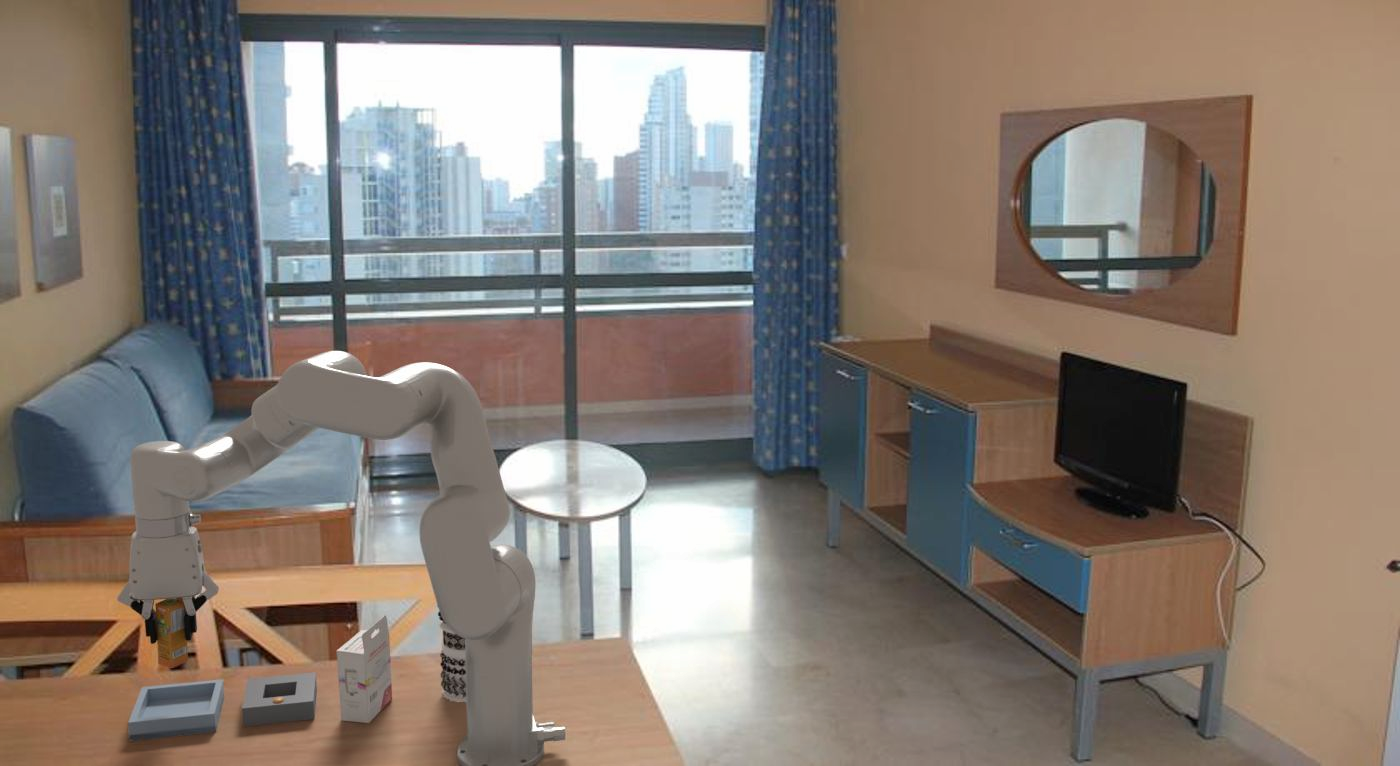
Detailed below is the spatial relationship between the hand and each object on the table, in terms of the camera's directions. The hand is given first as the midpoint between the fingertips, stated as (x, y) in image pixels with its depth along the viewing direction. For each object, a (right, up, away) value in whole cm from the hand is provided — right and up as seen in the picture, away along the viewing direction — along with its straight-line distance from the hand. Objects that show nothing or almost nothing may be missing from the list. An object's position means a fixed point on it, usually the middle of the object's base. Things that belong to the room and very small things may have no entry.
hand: (172, 637), depth 185 cm
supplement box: (0, -4, +1) cm, 4 cm away
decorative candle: (+43, -12, +13) cm, 46 cm away
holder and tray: (+8, -13, +5) cm, 16 cm away
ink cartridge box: (+28, -13, +6) cm, 31 cm away
